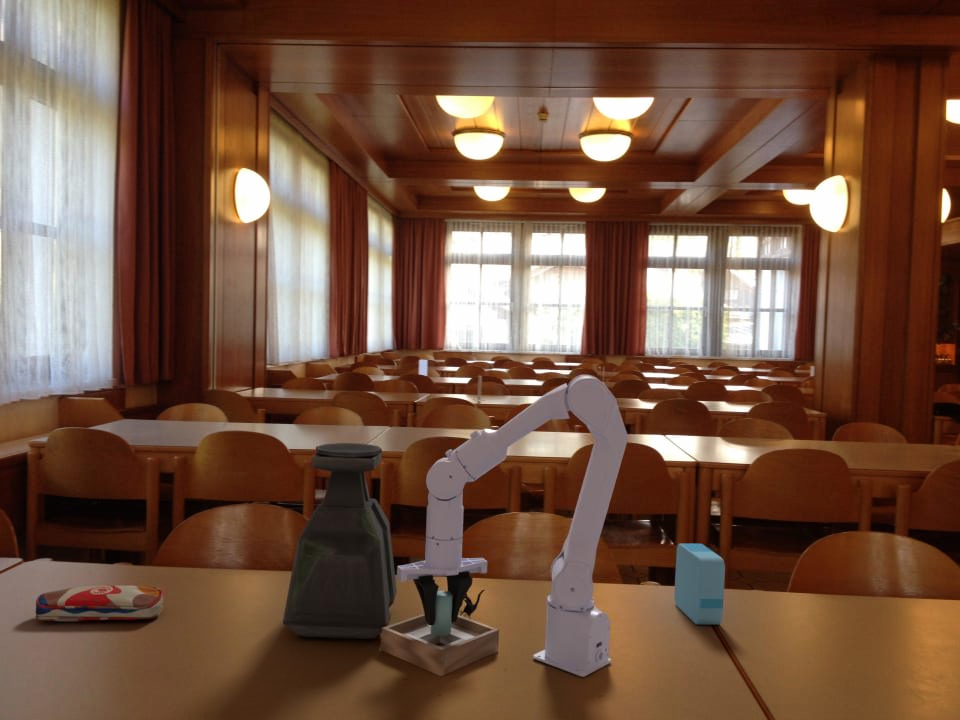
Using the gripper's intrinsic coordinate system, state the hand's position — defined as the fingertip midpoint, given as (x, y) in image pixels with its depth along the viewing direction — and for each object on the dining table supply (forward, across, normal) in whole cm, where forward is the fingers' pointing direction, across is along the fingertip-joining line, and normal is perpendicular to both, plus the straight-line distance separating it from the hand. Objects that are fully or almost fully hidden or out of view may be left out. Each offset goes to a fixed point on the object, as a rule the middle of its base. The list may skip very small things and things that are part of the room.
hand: (440, 621), depth 124 cm
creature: (+5, +9, +14) cm, 17 cm away
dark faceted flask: (+5, -11, +16) cm, 20 cm away
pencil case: (+5, -48, +32) cm, 58 cm away
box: (+5, 0, 0) cm, 5 cm away
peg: (+2, 0, 0) cm, 2 cm away
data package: (+5, +51, -1) cm, 51 cm away
